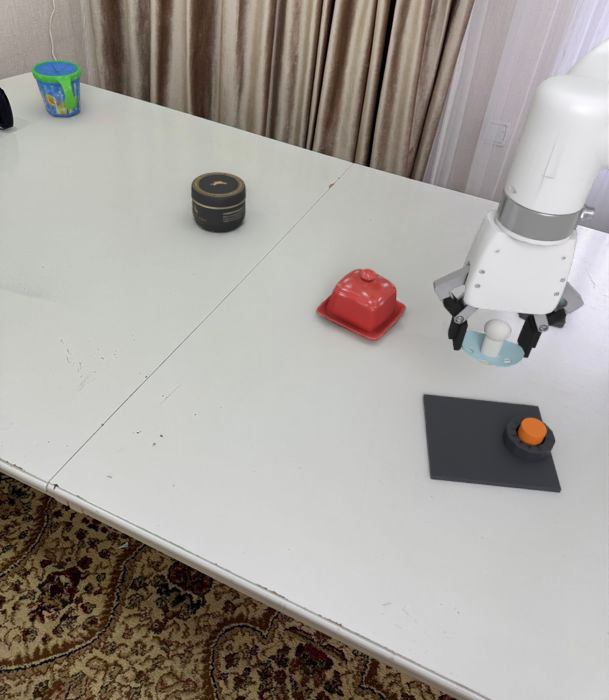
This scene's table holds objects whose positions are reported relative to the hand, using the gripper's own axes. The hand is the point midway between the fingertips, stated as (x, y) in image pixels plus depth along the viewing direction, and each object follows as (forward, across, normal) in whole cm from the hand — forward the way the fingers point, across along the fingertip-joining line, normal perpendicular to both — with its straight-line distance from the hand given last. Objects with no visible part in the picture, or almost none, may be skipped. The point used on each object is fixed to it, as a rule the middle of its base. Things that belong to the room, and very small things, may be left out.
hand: (488, 345), depth 73 cm
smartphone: (+15, -18, -32) cm, 40 cm away
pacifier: (+2, 0, 0) cm, 2 cm away
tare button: (+13, -9, +2) cm, 16 cm away
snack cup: (+15, +86, -88) cm, 124 cm away
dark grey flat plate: (+15, -4, +2) cm, 16 cm away
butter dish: (+15, +13, -22) cm, 30 cm away
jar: (+15, +41, -46) cm, 63 cm away
